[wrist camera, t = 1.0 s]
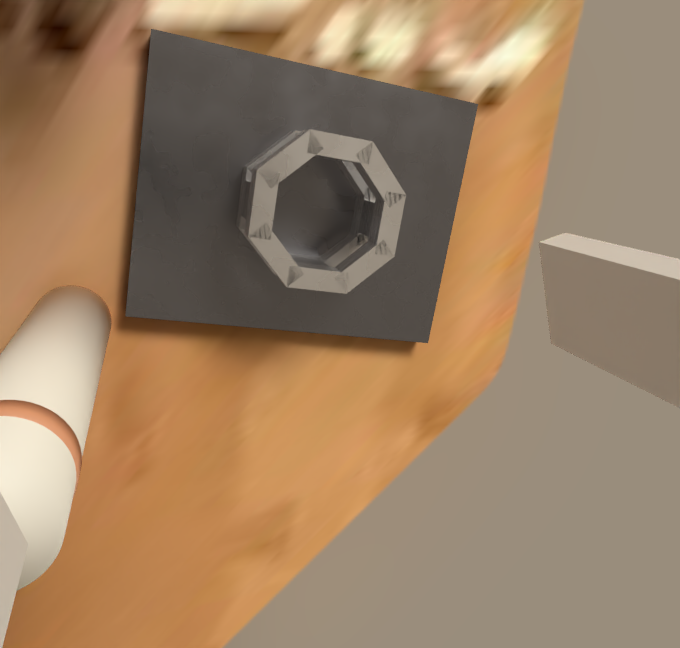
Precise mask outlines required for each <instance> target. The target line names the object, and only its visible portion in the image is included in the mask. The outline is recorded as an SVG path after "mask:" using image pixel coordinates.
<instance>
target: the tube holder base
mask: <svg viewBox="0 0 680 648" xmlns="http://www.w3.org/2000/svg"><path fill="white" fill-rule="evenodd" d="M477 106H478V104H475V103H471V102H466V101H462V100H458V99H453V98H449V97H445V96H440V95H436V94H432V93H427V92H423V91H419V90H414V89H410V88H406V87H401V86H397V85H393V84H388V83H384V82H380V81H375V80H371V79H367V78H362V77H358V76H354V75H349V74H345V73H341V72H336V71H332V70H328V69H323V68H319V67H314V66H310V65H306V64H301V63H297V62H293V61H288V60H284V59H280V58H275V57H271V56H267V55H262V54H258V53H254V52H249V51H245V50H241V49H236V48H232V47H228V46H223V45H219V44H215V43H210V42H206V41H202V40H197V39H193V38H189V37H184V36H180V35H176V34H171V33H167V32H163V31H158V30H154V29H151V38H150V49H149V61H148V72H147V83H146V94H145V105H144V116H143V127H142V138H141V149H140V160H139V171H138V183H137V194H136V205H135V216H134V227H133V238H132V249H131V260H130V271H129V282H128V294H127V305H126V316H128V317H139V318H150V319H162V320H173V321H184V322H196V323H207V324H218V325H230V326H241V327H253V328H264V329H275V330H287V331H298V332H309V333H321V334H332V335H343V336H355V337H366V338H378V339H389V340H400V341H412V342H423V343H428V340H429V335H430V330H431V326H432V321H433V316H434V311H435V306H436V302H437V297H438V292H439V287H440V283H441V278H442V273H443V268H444V264H445V259H446V254H447V249H448V245H449V240H450V235H451V230H452V225H453V221H454V216H455V211H456V206H457V202H458V197H459V192H460V187H461V183H462V178H463V173H464V168H465V164H466V159H467V154H468V149H469V144H470V140H471V135H472V130H473V125H474V121H475V116H476V111H477Z"/></svg>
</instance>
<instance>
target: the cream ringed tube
mask: <svg viewBox="0 0 680 648" xmlns="http://www.w3.org/2000/svg"><path fill="white" fill-rule="evenodd" d="M110 329H111V314H110V311H109V309H108V306H107V305H106V303H105V302H104V301H103V299H102V298H101V297H100V296H99V295H97V294H96V293H95V292H93V291H91V290H89V289H86V288H83V287H80V286H62V287H58V288H55V289H53V290H51V291H49V292H48V293H46V294H45V295H44V296H43V297H42V298H41V299H40V300H39V301H38V303H37V304H36V306H35V307H34V308H33V310H32V311H31V313H30V314H29V315H28V317H27V318H26V320H25V321H24V322H23V324H22V325H21V326H20V328H19V329H18V331H17V332H16V333H15V335H14V336H13V338H12V339H11V340H10V342H9V343H8V345H7V346H6V347H5V349H4V350H3V351H2V353H1V354H0V492H1V494H2V496H3V498H4V500H5V502H6V503H7V505H8V507H9V509H10V511H11V513H12V515H13V517H14V518H15V520H16V522H17V524H18V526H19V528H20V530H21V532H22V533H23V535H24V537H25V539H26V541H27V543H28V547H27V551H26V555H25V559H24V563H23V567H22V571H21V575H20V579H19V583H18V587H17V590H19V589H21V588H23V587H25V586H27V585H29V584H30V583H31V582H33V581H34V580H36V579H37V578H38V577H40V576H41V575H42V574H43V573H44V572H45V571H46V570H47V569H48V568H49V567H50V565H51V564H52V563H53V561H54V560H55V558H56V557H57V555H58V553H59V551H60V549H61V546H62V543H63V540H64V536H65V531H66V527H67V522H68V518H69V513H70V509H71V504H72V500H73V497H74V495H75V492H76V489H77V485H78V480H79V475H80V471H81V465H82V455H83V450H84V446H85V442H86V437H87V433H88V428H89V424H90V419H91V415H92V410H93V406H94V401H95V397H96V392H97V388H98V383H99V379H100V374H101V370H102V365H103V361H104V356H105V352H106V347H107V343H108V338H109V334H110Z"/></svg>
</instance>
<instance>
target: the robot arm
mask: <svg viewBox="0 0 680 648" xmlns="http://www.w3.org/2000/svg"><path fill="white" fill-rule="evenodd" d="M539 248H540V255H541V264H542V273H543V281H544V289H545V297H546V306H547V314H548V322H549V331H550V339H551V344H553V345H555V346H557V347H559V348H561V349H564V350H565V351H567V352H570V353H571V354H573V355H575V356H577V357H579V358H581V359H583V360H585V361H587V362H589V363H591V364H594V365H595V366H597V367H599V368H601V369H603V370H605V371H607V372H609V373H611V374H613V375H615V376H617V377H619V378H621V379H623V380H625V381H627V382H629V383H631V384H633V385H635V386H637V387H639V388H641V389H643V390H645V391H647V392H649V393H651V394H653V395H655V396H657V397H659V398H661V399H663V400H665V401H667V402H669V403H671V404H673V405H675V406H677V407H679V408H680V259H677V258H672V257H668V256H664V255H659V254H655V253H651V252H646V251H642V250H638V249H633V248H629V247H625V246H620V245H616V244H612V243H607V242H603V241H599V240H594V239H590V238H585V237H581V236H577V235H573V234H568V233H563V234H561V235H558V236H555V237H552V238H549V239H546V240H543V241H540V242H539ZM27 547H28V543H27V541H26V539H25V537H24V535H23V533H22V532H21V530H20V528H19V526H18V524H17V522H16V520H15V518H14V517H13V515H12V513H11V511H10V509H9V507H8V505H7V503H6V502H5V500H4V498H3V496H2V494H1V492H0V648H2V646H3V642H4V638H5V634H6V630H7V627H8V623H9V619H10V615H11V611H12V607H13V603H14V599H15V595H16V591H17V587H18V583H19V579H20V575H21V571H22V567H23V563H24V559H25V555H26V551H27Z"/></svg>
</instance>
